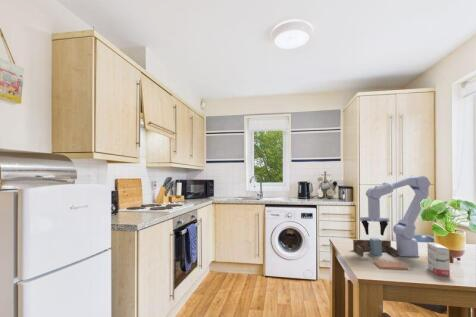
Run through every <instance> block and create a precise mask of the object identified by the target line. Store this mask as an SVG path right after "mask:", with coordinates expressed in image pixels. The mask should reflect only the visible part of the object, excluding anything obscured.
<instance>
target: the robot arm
mask: <svg viewBox="0 0 476 317" xmlns="http://www.w3.org/2000/svg"><path fill="white" fill-rule="evenodd" d="M431 184H432V183H431V182H430V180H429V178H428V177H427V176H425V175H410V176H406V177H404V178H401V179H399V180H397V181H394V182H391V183H390V182H382V184H380V185H375V186H374V187H369V188H368V189H367V190H366V192H365V195H366V197H367V209H368V210H367V212H368V213H367V216H364V217H363V216H359V221H360V222H361V224H362V225H363V228H364V233H365V235H367V236H369V234H370V232H369V226H370V223H369V222H379V226H380V229H379V230H380V231H379V232H380V235H381V236H384V234H385V231H386V228H387V227H388V225H389V222H390V218H388V217H381V204H380V201H381V200H380V199H381V198H382V197H383V196H386V195H388V194H391V193H393V192H394V190H396V189H398V188H402V187H406V186H409V187H410V188H411V189H412V190H413V192H414V193H415V194H414V197H412V200H411V202H410V204H409V206H408V208H407V210H406V212H405V214H404V216H403V218H402V219H399V221H397V223H396V224H394V225H393V227H392V230H393V233H394V234H395V242H396V250H397V256H399V257H417V258H418V257H420V255H419V244H418V243H419V242H418V240H417V239H416V238H414V236H415V235H416V234H415V231H416V229H417V228H416V225H415V222H416V220H417V219H418V216H419V215H420V212H421V211H422V209H423V207H422V208H421V207H420V202H421V201H422V200H423V199H426V200H427V199H428V197H429V194H430V192H429V188H430V186H431Z"/></svg>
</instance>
